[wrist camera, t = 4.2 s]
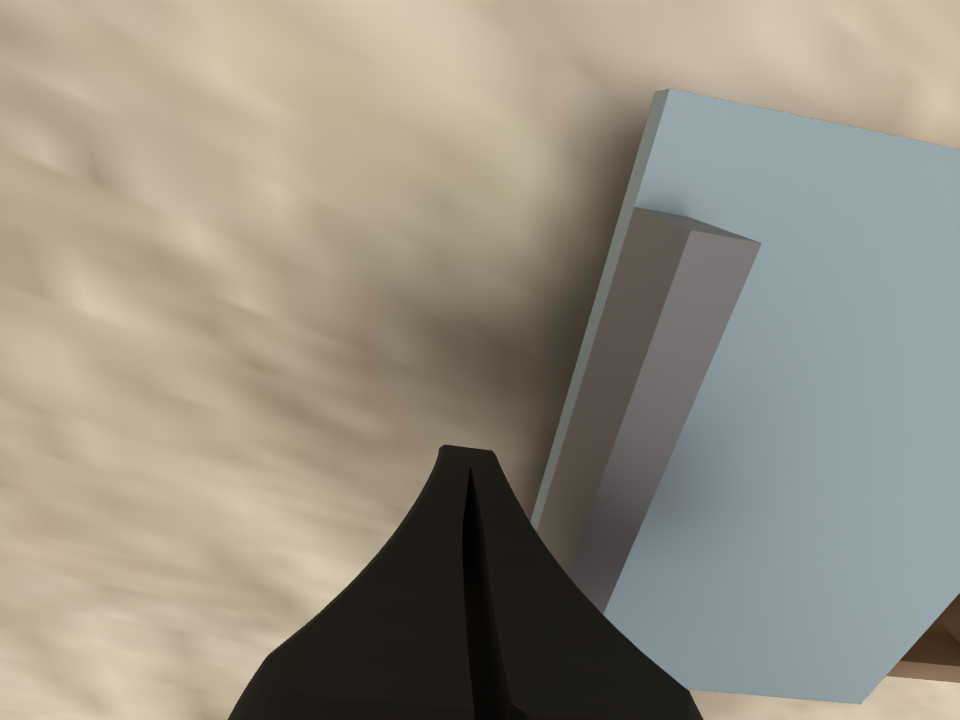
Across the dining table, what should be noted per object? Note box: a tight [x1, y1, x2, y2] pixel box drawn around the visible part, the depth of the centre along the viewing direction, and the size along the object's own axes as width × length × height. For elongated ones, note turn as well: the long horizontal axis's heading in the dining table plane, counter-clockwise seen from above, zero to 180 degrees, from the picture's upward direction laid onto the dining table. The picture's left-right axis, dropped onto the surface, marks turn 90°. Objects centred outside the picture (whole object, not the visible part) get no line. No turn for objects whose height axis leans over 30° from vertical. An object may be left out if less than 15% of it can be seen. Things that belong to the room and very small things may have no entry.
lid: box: [530, 89, 960, 704], centre depth 13 cm, size 18×14×4 cm
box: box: [886, 593, 960, 683], centre depth 17 cm, size 18×14×5 cm
